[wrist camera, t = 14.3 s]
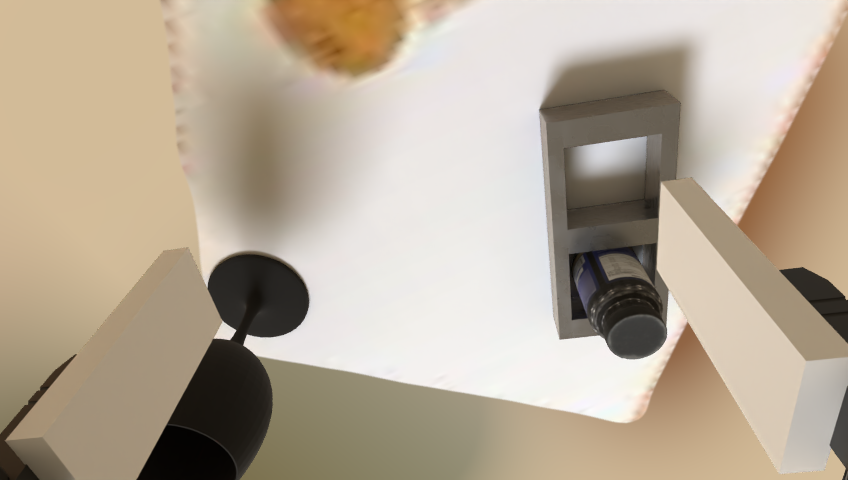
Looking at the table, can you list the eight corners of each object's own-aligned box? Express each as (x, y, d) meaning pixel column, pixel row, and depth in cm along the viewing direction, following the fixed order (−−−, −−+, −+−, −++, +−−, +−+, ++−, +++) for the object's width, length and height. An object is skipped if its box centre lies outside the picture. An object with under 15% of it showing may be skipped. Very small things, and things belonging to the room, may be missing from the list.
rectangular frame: (539, 109, 45) (545, 123, 42) (664, 90, 44) (680, 102, 41) (553, 316, 56) (559, 339, 53) (653, 305, 55) (666, 328, 52)
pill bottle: (595, 298, 55) (627, 378, 45) (556, 262, 53) (581, 338, 43) (647, 261, 52) (692, 338, 43) (608, 222, 50) (646, 293, 41)
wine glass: (321, 274, 54) (265, 440, 37) (295, 347, 59) (234, 522, 42) (217, 239, 53) (108, 396, 36) (200, 317, 58) (97, 488, 41)
